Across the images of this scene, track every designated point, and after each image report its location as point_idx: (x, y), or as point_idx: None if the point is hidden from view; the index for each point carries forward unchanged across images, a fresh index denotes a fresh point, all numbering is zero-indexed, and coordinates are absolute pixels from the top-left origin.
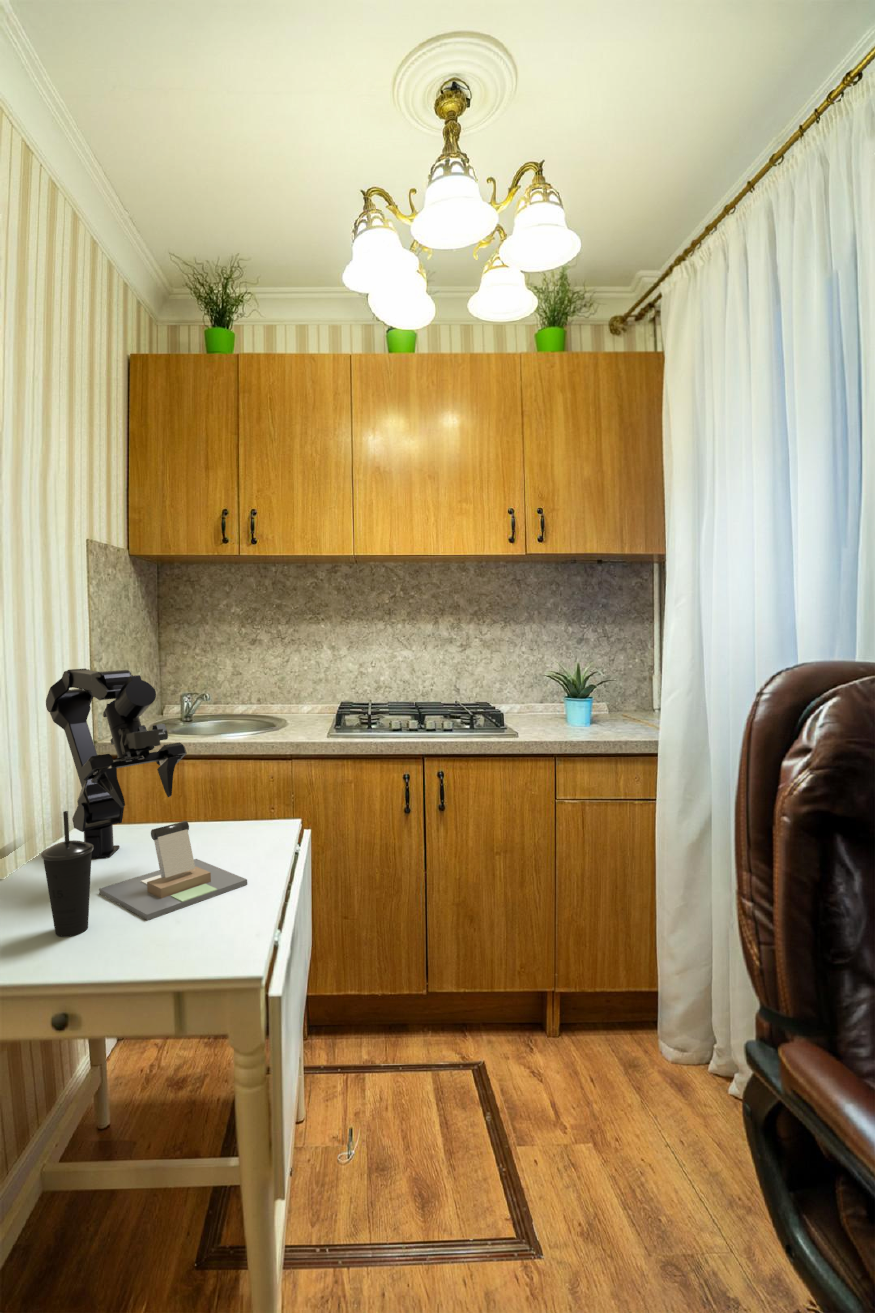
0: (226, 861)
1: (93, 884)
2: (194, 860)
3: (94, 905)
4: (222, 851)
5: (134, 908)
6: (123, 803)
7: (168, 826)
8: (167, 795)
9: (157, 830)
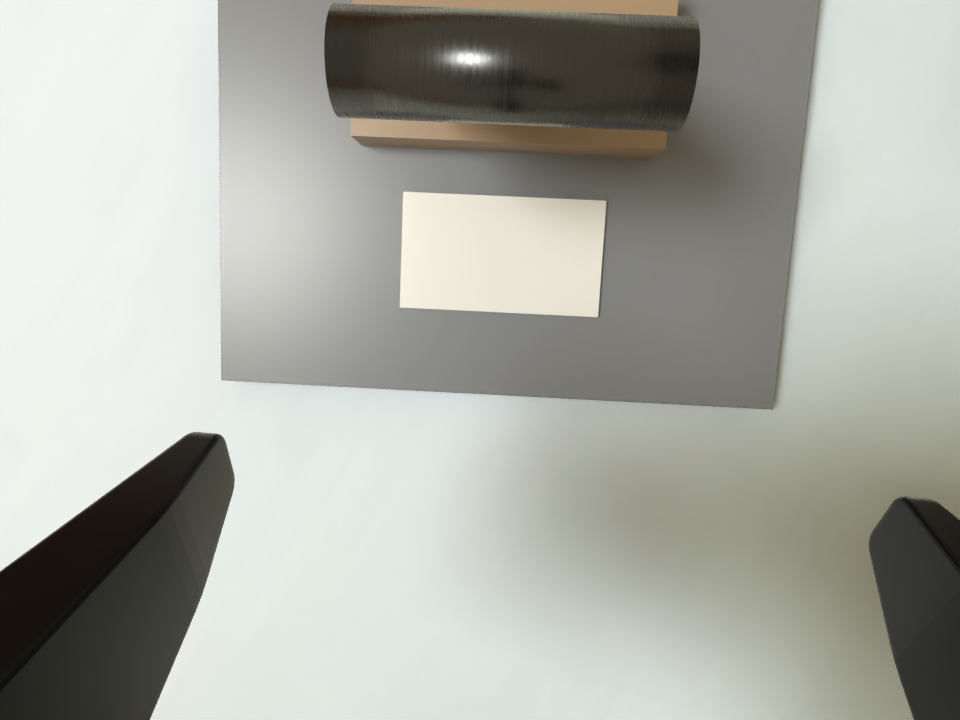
0: (109, 269)
1: (709, 543)
2: (243, 363)
3: (855, 286)
4: (40, 423)
5: (817, 6)
6: (936, 516)
7: (539, 33)
8: (224, 502)
9: (670, 27)
